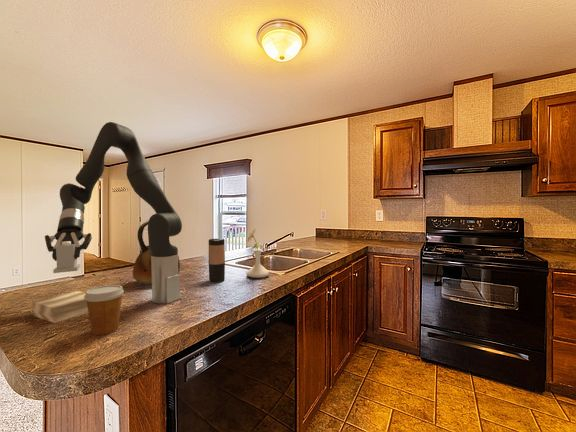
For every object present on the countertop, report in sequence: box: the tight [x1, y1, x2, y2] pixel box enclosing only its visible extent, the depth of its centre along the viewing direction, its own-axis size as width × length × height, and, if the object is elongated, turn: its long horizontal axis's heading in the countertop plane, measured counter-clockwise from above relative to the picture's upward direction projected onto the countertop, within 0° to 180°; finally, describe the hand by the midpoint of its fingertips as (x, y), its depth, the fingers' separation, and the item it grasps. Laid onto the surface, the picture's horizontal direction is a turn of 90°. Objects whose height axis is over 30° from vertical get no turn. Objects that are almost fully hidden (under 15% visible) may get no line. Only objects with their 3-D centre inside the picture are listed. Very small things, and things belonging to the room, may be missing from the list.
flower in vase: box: [246, 228, 270, 279], centre depth 138 cm, size 13×11×25 cm
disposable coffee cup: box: [84, 284, 125, 336], centre depth 79 cm, size 10×10×12 cm
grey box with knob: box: [52, 241, 81, 274], centre depth 97 cm, size 6×6×10 cm
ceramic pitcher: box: [132, 220, 181, 285], centre depth 129 cm, size 20×20×30 cm
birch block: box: [32, 290, 89, 324], centre depth 92 cm, size 13×13×5 cm
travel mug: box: [208, 238, 226, 284], centre depth 132 cm, size 8×8×20 cm
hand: (65, 258), depth 95 cm, fingers closed on grey box with knob, 4 cm apart
